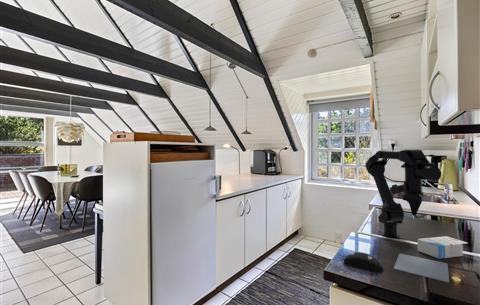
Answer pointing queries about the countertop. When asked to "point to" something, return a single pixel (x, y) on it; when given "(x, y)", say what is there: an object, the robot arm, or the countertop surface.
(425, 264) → the mat
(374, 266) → the computer mouse
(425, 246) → the ink box
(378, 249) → the countertop surface
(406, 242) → the countertop surface
